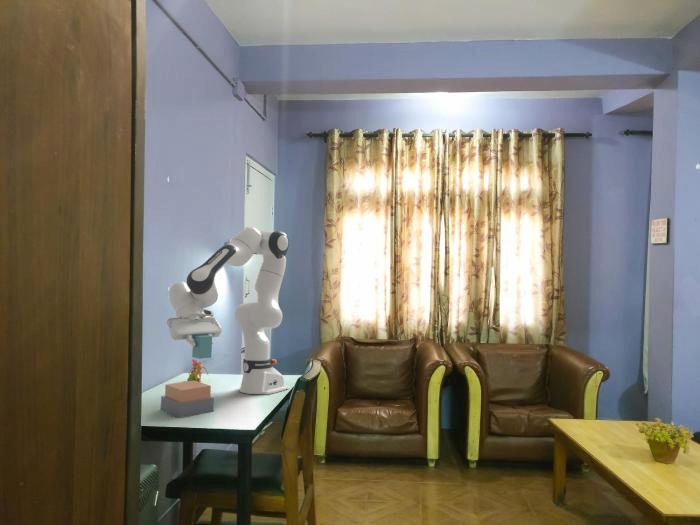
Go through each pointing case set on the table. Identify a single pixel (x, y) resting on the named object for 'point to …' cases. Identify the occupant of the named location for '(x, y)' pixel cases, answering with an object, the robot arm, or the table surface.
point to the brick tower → (187, 399)
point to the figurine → (198, 371)
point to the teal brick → (202, 346)
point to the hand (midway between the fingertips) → (203, 345)
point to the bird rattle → (194, 372)
